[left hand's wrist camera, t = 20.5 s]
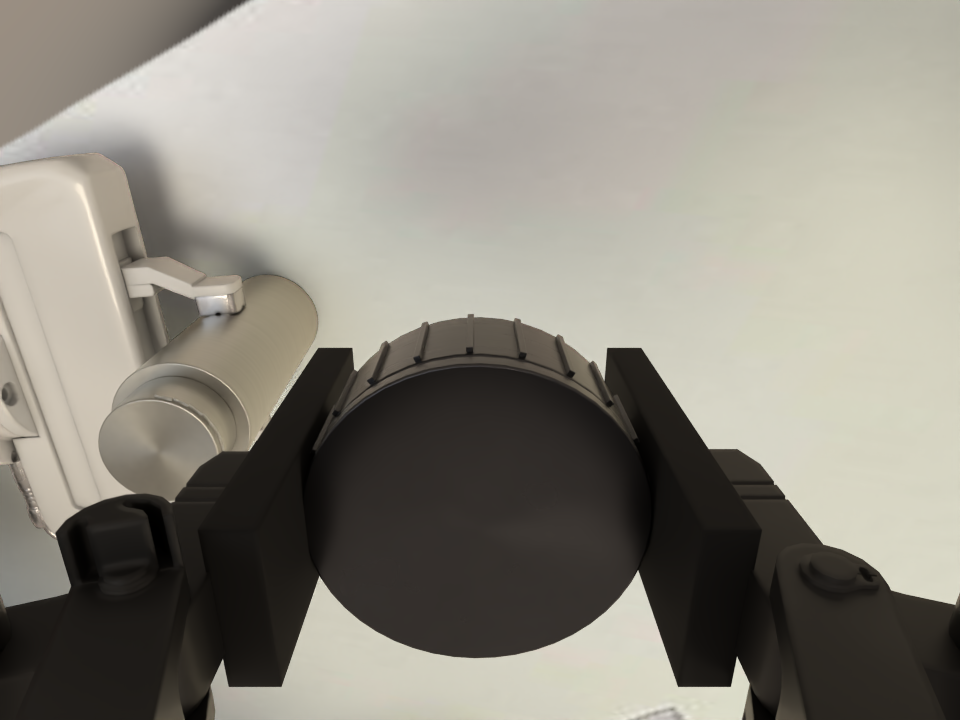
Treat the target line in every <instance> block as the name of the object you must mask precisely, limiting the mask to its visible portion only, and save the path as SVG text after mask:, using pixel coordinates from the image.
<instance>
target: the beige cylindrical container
mask: <svg viewBox="0 0 960 720" xmlns="http://www.w3.org/2000/svg"><path fill="white" fill-rule="evenodd" d="M242 284H243V291H244V296H245V301H246V306H245V307H242V310H241V311H239V312H237V313H234V314H221V313H219V312H217V313H216V314H215V315H211V316H201V317H199V318H198V319H197V320H196V321H195V322H193V323H192V324H191V325H190V326H189V327H187V328H186V329H185V330H184V331H183V332H181V333H180V334H179V335H178V336H177V337H175V338H174V339H173V340H172V341H171V342H169V343H168V344H167V345H166V346H165V347H163V348H162V349H161V350H160V351H159V352H157V353H156V354H155V355H154V356H153V357H151V358H150V359H149V360H148V361H147V362H145V363H144V364H143V365H142V366H141V367H139V368H138V369H137V370H136V371H135V372H133V373H132V374H131V375H130V376H129V377H127V378H126V380H125V381H124V382H123V383H122V384H121V385H120V387H119V388H118V390H117V392H116V394H115V396H114V399H113V403H112V411H111V413H110V414H109V415H108V416H107V417H106V419H105V420H104V422H103V424H102V426H101V428H100V432H99V439H98V445H99V452H100V456H101V458H102V461H103V463H104V465H105V467H106V468H107V470H108V471H109V473H110V474H111V475H112V476H113V477H114V478H115V479H116V480H117V481H118V482H119V483H120V484H121V485H123V486H124V487H125V488H127V489H128V490H130V491H132V492H134V493H136V494H143V493H147V494H152V495H157V496H162V497H163V498H165V499H166V500H167V501H175V497H176V496H177V495H178V494H179V492H180V491H181V490H182V488H183V487H186V483H187V482H188V481H189V479H190V478H191V477H192V476H193V474H194V473H195V472H196V470H197V469H198V468H199V466H201V465H202V464H204V463H205V462H207V461H209V460H210V459H212V458H213V457H215V456H216V455H218V454H219V453H221V452H222V451H248V450H249V448H250V446H251V445H252V443H253V441H254V440H255V438H256V436H257V435H258V433H259V431H260V430H261V428H262V426H263V425H264V423H265V421H266V420H267V418H268V416H269V415H270V413H271V411H272V410H273V408H274V406H275V405H276V403H277V401H278V400H279V398H280V396H281V395H282V393H283V391H284V390H285V388H286V386H287V385H288V383H289V381H290V379H291V378H292V376H293V374H294V373H295V371H296V369H297V368H298V366H299V364H300V363H301V361H302V359H303V358H304V356H305V354H306V353H307V351H308V349H309V348H310V346H311V344H312V343H313V341H314V339H315V337H316V334H317V329H318V316H317V312H316V309H315V306H314V304H313V302H312V300H311V299H310V297H309V296H308V295H307V293H306V292H305V291H304V290H303V289H302V288H301V287H299V286H298V285H297V284H295V283H294V282H292V281H290V280H288V279H285V278H283V277H279V276H274V275H259V276H255V277H251V278H249V279H247V280H245V281H243V282H242Z"/></svg>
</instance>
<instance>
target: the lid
mask: <svg viewBox="0 0 960 720" xmlns="http://www.w3.org/2000/svg"><path fill="white" fill-rule="evenodd" d="M637 443H640V441H639V439H638V437H637V435H636V433H635V431H634V429H633V427H632V425H631V423H630V420H629V418H628V416H627V414H626V412H625V410H624V408H623V406H622V404H621V402H620V400H619V397H618V395H614V396H613V395H612V393H611V391H610V390H609V388H608V386H607V385H606V383H605V382H604V380H603V378H602V375H601V373H600V371H599V369H598V367H597V364H596V363H595V362H594V361H592V362H591V363H589V362H588V361H587V360H586V359H585V358H584V357H583V356H582V355H580V354H579V353H578V352H577V351H576V350H575V349H573V348H572V347H570V346H569V345H567V344H566V343H565V342H564V339H563V337H562V336H560V335H557V336H556V337H554V336H552V335H550V334H548V333H546V332H544V331H542V330H540V329H537V328H534V327H531V326H528V325H525V324H522V323H521V320H520V319H516V318H515V319H514V322H513V321H509V320H504V319H495V318H483V317H477V318H474V314H468V318H458V319H452V320H446V321H441V322H437V323H433V324H430V325H429V324H428V322H424V323H422V326H421V327H420V328H418V329H416V330H413V331H411V332H409V333H407V334H404V335H402V336H400V337H399V338H397V339H396V340H394V341H392V342H391V343H388V342H387V341H385V342H384V343H382V345H381V347H380V350H379V351H378V352H377V353H376V354H375V355H373V356H372V357H371V358H370V359H369V360H368V361H367V362H366V363H365V364H364V365H363V366H362V367H361V369H360V370H359V371H358V372H357V371H356V370H353V372H352V373H351V375H350V377H349V379H348V381H347V383H346V385H345V387H344V389H343V391H342V393H341V395H340V397H339V399H338V401H337V404H336V405H333V407H332V409H331V411H330V413H329V415H328V417H327V419H326V421H325V423H324V425H323V427H322V429H321V431H320V433H319V435H318V437H317V440H316V442H315V444H314V446H313V448H312V450H311V453H310V454H312V455H314V457H313V459H312V461H311V463H310V466H309V469H308V473H307V476H306V479H305V482H304V488H303V507H304V516H305V524H306V532H307V540H308V548H309V554H310V557H311V560H312V562H313V564H314V566H315V568H316V570H317V572H318V574H319V576H320V577H321V579H322V580H323V582H324V583H325V585H326V586H327V587H328V589H329V590H330V592H331V593H332V594H333V595H334V596H335V598H336V599H337V600H338V601H339V602H340V603H341V604H342V605H343V606H344V607H345V608H346V609H347V610H348V611H349V612H351V613H352V614H353V615H354V616H355V617H356V618H358V619H359V620H360V621H361V622H363V623H364V624H366V625H368V626H369V627H371V628H372V629H374V630H375V631H377V632H378V633H380V634H382V635H384V636H386V637H388V638H390V639H392V640H394V641H397V642H399V643H402V644H404V645H407V646H409V647H412V648H415V649H419V650H423V651H426V652H430V653H434V654H440V655H446V656H452V657H465V658H491V657H501V656H509V655H516V654H520V653H524V652H529V651H533V650H536V649H539V648H542V647H545V646H548V645H551V644H554V643H556V642H558V641H560V640H562V639H564V638H567V637H569V636H571V635H573V634H575V633H576V632H578V631H579V630H581V629H583V628H584V627H586V626H587V625H589V624H591V623H592V622H593V621H594V620H596V619H597V618H598V617H599V616H601V615H602V614H603V613H604V612H606V611H607V610H608V609H609V608H610V607H611V606H612V605H613V604H614V603H615V602H616V601H617V600H618V599H619V597H620V596H621V595H622V594H623V592H624V591H625V590H626V588H627V587H628V586H629V584H630V583H631V581H632V580H633V578H634V576H635V574H636V573H637V571H638V569H639V567H640V565H641V563H642V560H643V558H644V555H645V553H646V550H647V547H648V543H649V539H650V534H651V530H652V518H653V502H652V491H651V486H650V482H649V480H650V479H649V477H648V474H647V470H646V468H645V466H644V463H643V461H642V459H641V456H640V454H639V452H638V449H637V447H636V445H635V444H637Z"/></svg>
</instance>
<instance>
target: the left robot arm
mask: <svg viewBox="0 0 960 720" xmlns="http://www.w3.org/2000/svg"><path fill="white" fill-rule="evenodd" d="M353 370H354V363H353V351H352V348H318V349H317V351H316V352H315V354H314V355H313V357H312V358H311V360H310V361H309V363H308V364H307V366H306V367H305V369H304V370H303V372H302V373H301V375H300V376H299V378H298V379H297V381H296V382H295V384H294V385H293V387H292V388H291V390H290V391H289V393H288V394H287V396H286V397H285V399H284V400H283V402H282V403H281V405H280V406H279V408H278V409H277V411H276V412H275V414H274V415H273V417H272V418H271V420H270V421H269V423H268V424H267V426H266V427H265V429H264V430H263V432H262V433H261V435H260V436H259V438H258V439H257V441H256V443H255V444H254V446H253V447H252V449H251V450H250V451H222V452H221V453H219V454H218V455H216V456H215V457H213V458H212V459H210V460H209V461H207V462H205V463H204V464H202V465H201V466H199V468H198V469H197V470H196V472H195V473H194V474H193V476H192V477H191V478H190V479H189V481H188V482H187V483H186V487H183V488H182V490H181V491H180V492H179V494H178V495H177V496H176V497H175V502H172V503H170V502H169V501H167V500H166V499H165V498H163V497H162V496H157V495H152V494H147V493H143V494H126V495H122V496H117V497H113V498H109V499H105V500H102V501H100V502H97V503H95V504H93V505H90V506H88V507H85V508H83V509H82V510H80V511H79V512H77V513H76V514H74V515H73V516H71V517H70V518H68V519H67V520H65V522H64V523H63V524H62V525H61V526H60V528H59V529H58V530H57V531H56V532H55V534H56V537H57V540H58V544H59V547H60V550H61V554H62V557H63V560H64V564H65V567H66V570H67V574H68V577H69V580H70V584H71V589H70V591H69V593H68V594H64V595H61V596H57V597H53V598H48V599H44V600H39V601H34V602H30V603H25V604H20V605H15V606H11V607H6V608H5V607H4V604H3V601H2V598H1V595H0V720H214V718H215V706H214V700H213V695H212V690H211V683H212V681H213V679H214V676H215V674H216V672H217V670H218V668H219V666H220V663H221V661H222V659H223V660H224V665H225V670H226V675H227V680H228V685H229V687H282V684H283V681H284V678H285V675H286V672H287V669H288V666H289V663H290V660H291V657H292V654H293V651H294V648H295V646H296V643H297V640H298V637H299V634H300V631H301V628H302V625H303V622H304V619H305V616H306V613H307V610H308V607H309V605H310V602H311V599H312V596H313V593H314V590H315V587H316V584H317V581H318V578H319V574H318V572H317V570H316V568H315V566H314V564H313V562H312V560H311V557H310V554H309V548H308V540H307V532H306V524H305V516H304V507H303V488H304V482H305V479H306V476H307V473H308V469H309V466H310V463H311V461H312V459H313V457H314V455H312V454H310V453H311V450H312V448H313V446H314V444H315V442H316V440H317V437H318V435H319V433H320V431H321V429H322V427H323V425H324V423H325V421H326V419H327V417H328V415H329V413H330V411H331V409H332V407H333V405H336V404H337V401H338V399H339V397H340V395H341V393H342V391H343V389H344V387H345V385H346V383H347V381H348V379H349V377H350V375H351V373H352V372H353ZM605 383H606V385H607V386H608V388H609V390H610V391H611V393H612V395H613V396H614V395H618V397H619V400H620V402H621V404H622V406H623V408H624V410H625V412H626V414H627V416H628V418H629V420H630V423H631V425H632V427H633V429H634V431H635V433H636V435H637V437H638V439H639V441H640V443H637V444H635V445H636V447H637V449H638V452H639V454H640V456H641V459H642V461H643V463H644V466H645V468H646V470H647V474H648V477H649V479H650V480H649V482H650V486H651V491H652V502H653V518H652V530H651V534H650V539H649V543H648V547H647V550H646V553H645V555H644V558H643V560H642V563H641V565H640V567H639V569H638V570H639V573H640V576H641V579H642V582H643V585H644V588H645V591H646V594H647V597H648V600H649V603H650V606H651V609H652V611H653V614H654V617H655V620H656V623H657V626H658V629H659V632H660V635H661V638H662V641H663V644H664V647H665V650H666V653H667V655H668V658H669V661H670V664H671V667H672V670H673V673H674V676H675V679H676V682H677V685H678V687H731V683H732V678H733V673H734V668H735V663H736V658H737V657H738V659H739V661H740V663H741V665H742V668H743V670H744V672H745V674H746V676H747V678H748V680H749V683H750V685H749V690H748V695H747V699H746V704H745V709H744V713H743V718H742V720H960V594H959V597H958V599H957V602H956V605H953V604H948V603H943V602H939V601H934V600H929V599H924V598H920V597H915V596H910V595H906V594H902V593H898V592H895V591H891V590H890V587H889V585H888V584H887V583H886V581H885V580H884V578H883V577H882V576H881V574H880V573H879V572H878V571H877V570H876V569H874V568H873V567H872V566H870V565H869V564H868V563H866V562H865V561H864V560H863V559H860V558H858V557H856V556H854V555H852V554H850V553H848V552H846V551H844V550H841V549H837V548H834V547H830V546H826V545H823V544H822V542H821V541H820V540H819V539H818V537H817V536H816V535H815V533H814V532H813V531H812V530H811V528H810V527H809V526H808V525H807V523H806V522H805V521H804V519H803V518H802V517H801V516H800V514H799V513H798V512H797V510H796V509H795V508H794V507H793V505H792V504H791V503H790V502H789V500H785V495H784V494H783V493H782V491H781V490H780V489H779V487H778V486H777V485H774V481H773V480H772V479H771V477H770V476H769V475H768V473H767V472H766V471H765V470H764V468H763V467H762V466H761V464H759V463H758V462H756V461H755V460H753V459H752V458H750V457H748V456H747V455H745V454H744V453H742V452H741V451H739V450H738V449H708V448H707V446H706V445H705V443H704V442H703V440H702V439H701V437H700V436H699V434H698V433H697V431H696V430H695V428H694V427H693V425H692V424H691V422H690V421H689V419H688V418H687V416H686V415H685V413H684V412H683V410H682V409H681V407H680V406H679V404H678V403H677V401H676V400H675V398H674V397H673V395H672V394H671V392H670V391H669V389H668V388H667V386H666V385H665V383H664V382H663V380H662V379H661V377H660V376H659V374H658V373H657V371H656V370H655V368H654V367H653V365H652V364H651V362H650V361H649V359H648V358H647V356H646V355H645V353H644V352H643V350H642V349H641V348H607V358H606V371H605Z"/></svg>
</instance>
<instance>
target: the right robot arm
mask: <svg viewBox="0 0 960 720" xmlns="http://www.w3.org/2000/svg"><path fill="white" fill-rule="evenodd" d="M163 289H168V290H170V291H173V292H175V293H178V294H180V295H183V296H185V297H188V298H190V299H193V300H196V304H197V308H198V311H199V315H200V316H211V315H215V314H216V313H217V312H219V313H221V314H234V313H237V312H239V311H241V310H242V307H245V306H246V301H245V296H244V291H243V284H242V280H241V276H238V275H229V276H214V277H206V274H204V273H202V272H200V271H197V270H195V269H193V268H191V267H189V266H187V265H185V264H182V263H180V262H178V261H176V260H174V259H172V258H170V257H153V258H148V257H147V253H146V249H145V246H144V242H143V238H142V234H141V231H140V227H139V223H138V219H137V215H136V212H135V208H134V204H133V200H132V197H131V193H130V189H129V185H128V181H127V177H126V174H125V172H124V170H123V168H122V167H120V166H119V165H118V164H116V163H115V162H113V161H111V160H110V159H108V158H106V157H105V156H103V155H101V154H99V153H86V154H75V155H66V156H57V157H50V158H44V159H37V160H31V161H25V162H19V163H13V164H8V165H2V166H0V465H4V464H8V465H9V468H10V470H11V473H12V475H13V478H14V480H15V482H16V484H17V486H18V488H19V490H20V492H21V493H22V495H23V496H24V499H25V502H26V504H27V512H28V515H29V518H30V520H31V521H32V523H33V524H34V525H35V527H36V528H39V529H42V528H44V529H45V531H46V532H47V533H48V534H49V535H50V536H51V537H53V538H54V539H56V540H57V537H56V534H55V532H56V531H57V530H58V529H59V528H60V526H61V525H62V524H63V523H64V522H65V520H67V519H68V518H70V517H71V516H73V515H74V514H76V513H77V512H79V511H80V510H82V509H83V508H85V507H88V506H90V505H93V504H95V503H97V502H100V501H102V500H105V499H109V498H113V497H117V496H122V495H126V494H136V493H134V492H132V491H130V490H128V489H127V488H125V487H124V486H123V485H121V484H120V483H119V482H118V481H117V480H116V479H115V478H114V477H113V476H112V475H111V474H110V473H109V471H108V470H107V468H106V467H105V465H104V463H103V461H102V458H101V456H100V452H99V445H98V439H99V432H100V428H101V426H102V424H103V422H104V420H105V419H106V417H107V416H108V415H109V414H110V413H111V411H112V403H113V399H114V396H115V394H116V392H117V390H118V388H119V387H120V385H121V384H122V383H123V382H124V381H125V380H126V378H127V377H129V376H130V375H131V374H132V373H133V372H135V371H136V370H137V369H138V368H139V367H141V366H142V365H143V364H144V363H145V362H147V361H148V360H149V359H150V358H151V357H153V356H154V355H155V354H156V353H157V352H159V351H160V350H161V349H162V348H163V347H165V346H166V345H167V344H168V343H169V342H170V340H169V336H168V332H167V329H166V325H165V321H164V317H163V314H162V310H161V306H160V302H159V298H158V295H157V293H159V292H160V291H162V290H163ZM270 420H271V417H270V415H269V416H268V418H267V420H266V421H265V423H264V425H263V426H262V428H261V430H260V431H259V433H258V435H257V436H256V438H255V440H254V441H257V439H258V438H259V436H260V435H261V433H262V432H263V430H264V429H265V427H266V426H267V424H268V423H269V421H270ZM169 502H170V503H172V502H175V501H169Z"/></svg>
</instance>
